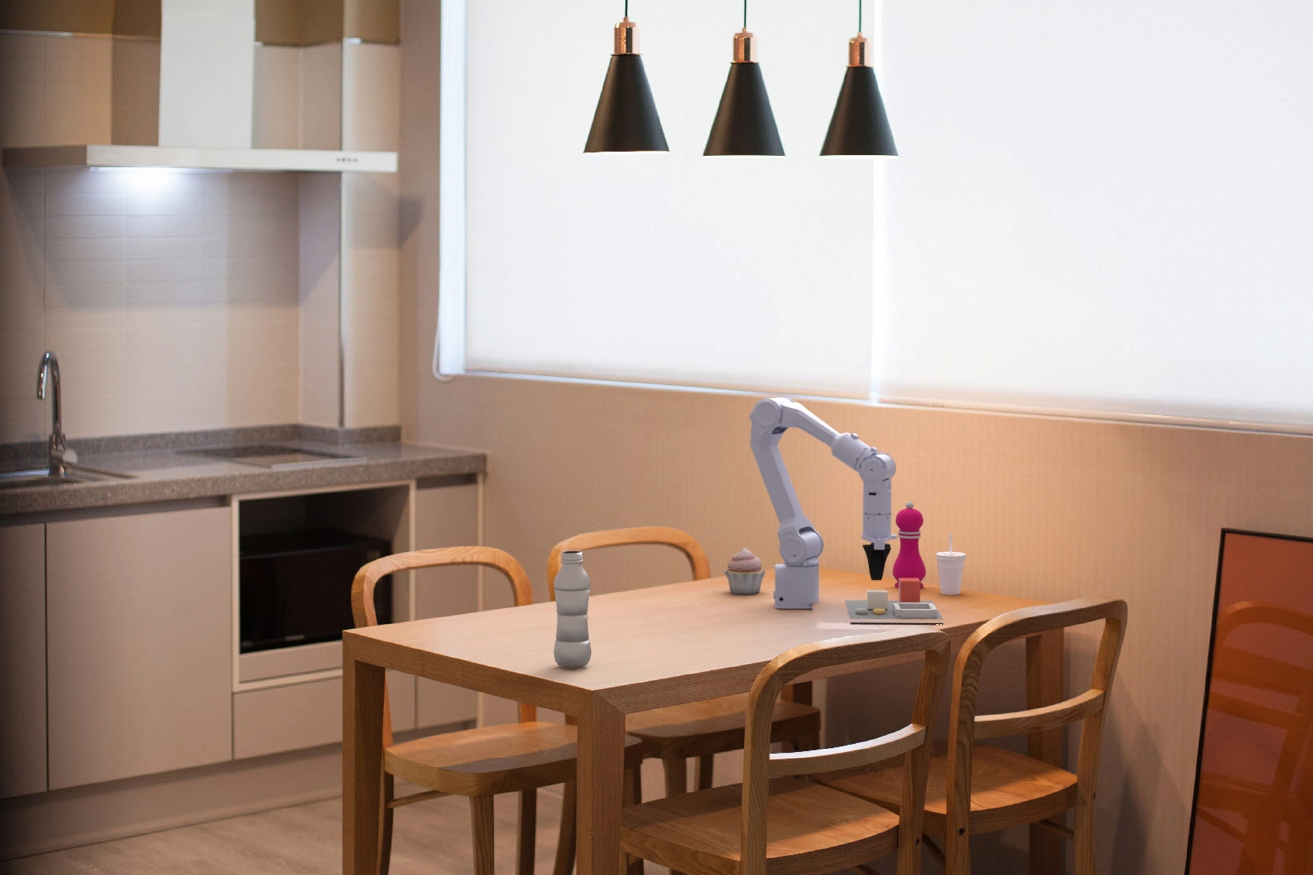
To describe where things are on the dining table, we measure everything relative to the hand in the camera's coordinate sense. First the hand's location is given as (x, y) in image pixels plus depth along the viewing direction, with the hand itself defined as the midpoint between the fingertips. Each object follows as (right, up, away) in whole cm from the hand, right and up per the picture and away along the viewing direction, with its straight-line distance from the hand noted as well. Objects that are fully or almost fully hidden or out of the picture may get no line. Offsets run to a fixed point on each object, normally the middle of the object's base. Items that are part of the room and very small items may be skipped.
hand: (876, 579), depth 313 cm
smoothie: (+18, -6, +16) cm, 25 cm away
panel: (+3, -7, -2) cm, 8 cm away
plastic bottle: (-59, -11, -47) cm, 77 cm away
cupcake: (-25, -5, +25) cm, 36 cm away
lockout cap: (+7, -5, +4) cm, 10 cm away
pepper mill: (+11, -5, +25) cm, 28 cm away
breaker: (0, -6, -2) cm, 6 cm away
